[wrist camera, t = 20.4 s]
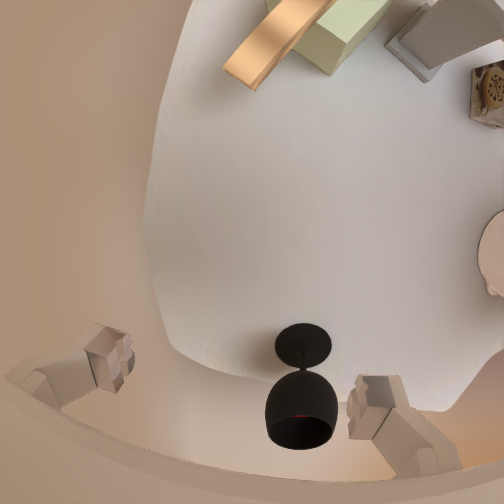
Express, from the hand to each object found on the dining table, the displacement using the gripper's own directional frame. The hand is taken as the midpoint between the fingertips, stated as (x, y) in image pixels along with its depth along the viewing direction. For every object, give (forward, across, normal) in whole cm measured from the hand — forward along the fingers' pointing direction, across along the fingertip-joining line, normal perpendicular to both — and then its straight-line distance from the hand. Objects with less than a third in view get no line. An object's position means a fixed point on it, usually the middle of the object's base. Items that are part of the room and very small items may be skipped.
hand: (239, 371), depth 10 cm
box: (+37, -3, -26) cm, 45 cm away
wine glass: (+37, -7, +27) cm, 47 cm away
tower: (+37, -19, -28) cm, 50 cm away
